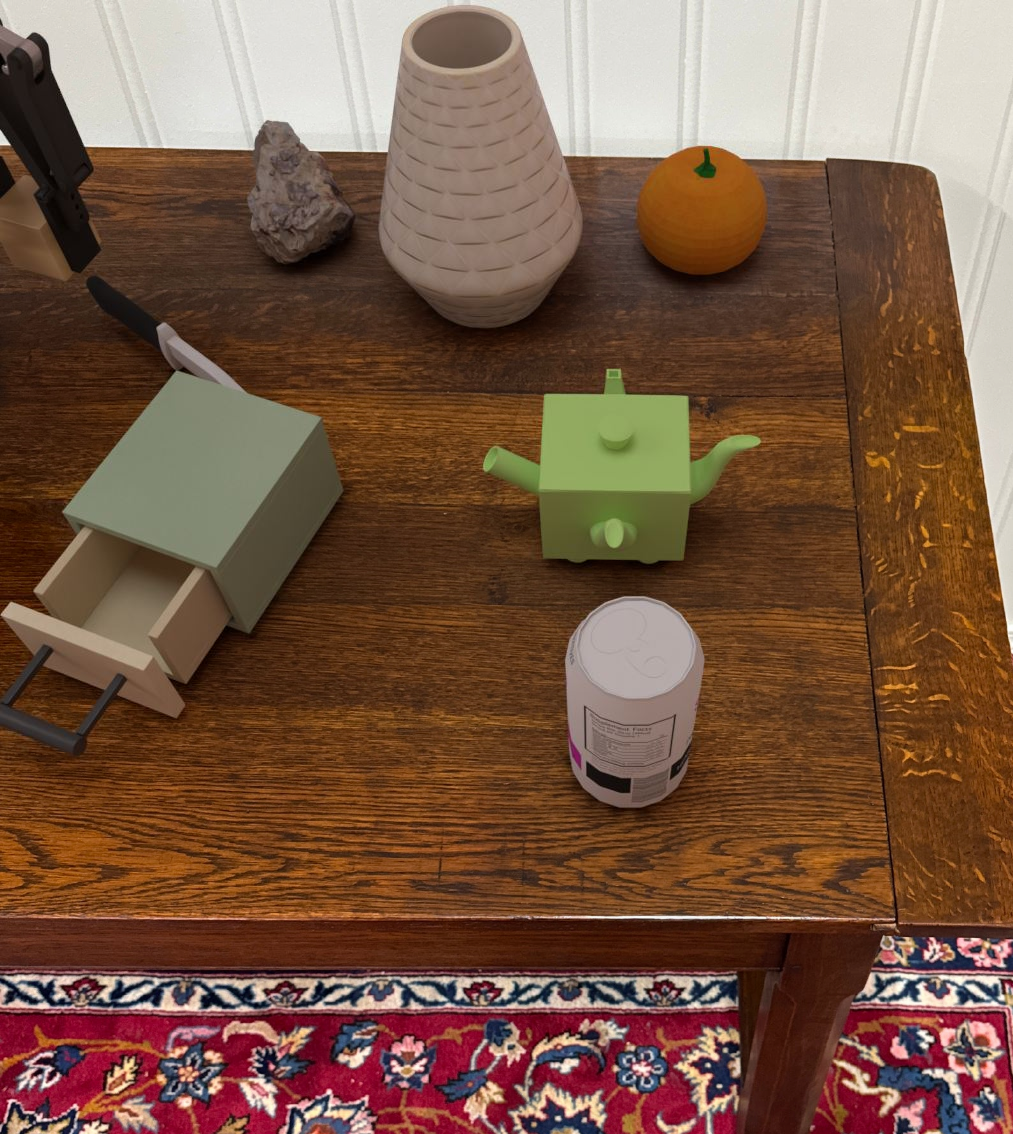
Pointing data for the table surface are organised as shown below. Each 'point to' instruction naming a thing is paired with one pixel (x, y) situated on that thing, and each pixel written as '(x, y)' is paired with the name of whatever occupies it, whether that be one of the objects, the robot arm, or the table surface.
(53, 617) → the drawer
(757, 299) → the table surface
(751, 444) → the kettle
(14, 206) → the block
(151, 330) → the knife
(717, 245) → the fruit
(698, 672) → the supplement can
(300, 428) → the cabinet
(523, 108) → the vase
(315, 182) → the rock
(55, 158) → the robot arm
